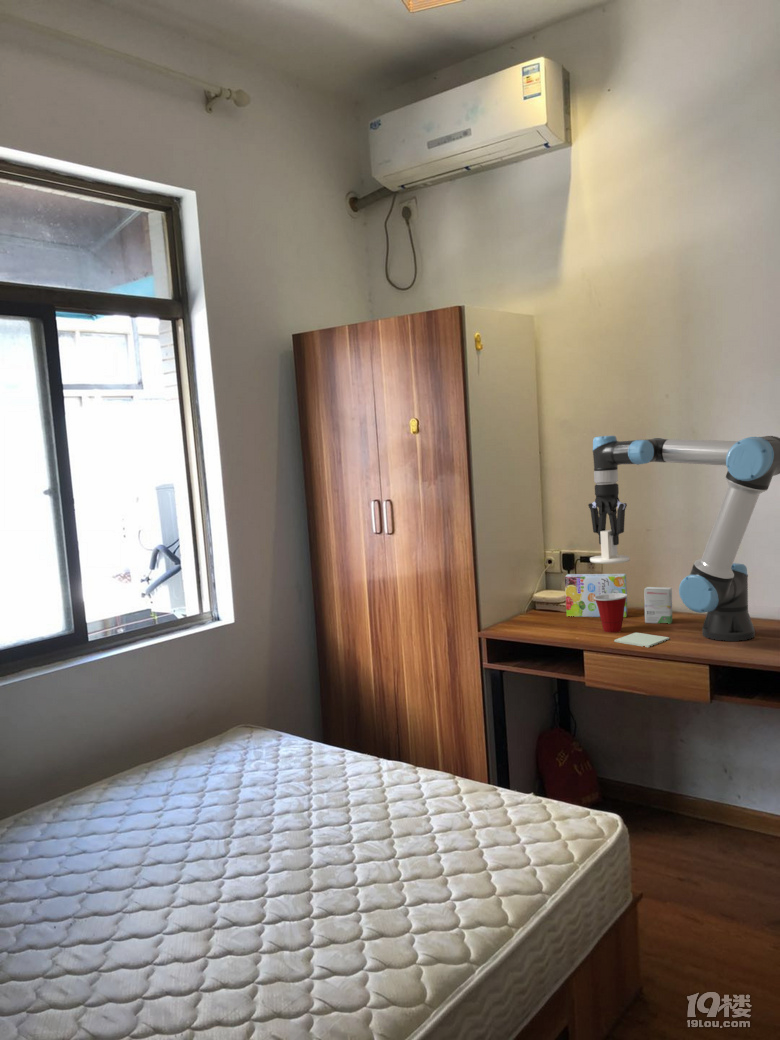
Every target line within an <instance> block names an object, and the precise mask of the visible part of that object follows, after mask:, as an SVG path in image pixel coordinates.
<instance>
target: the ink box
mask: <svg viewBox="0 0 780 1040" xmlns="http://www.w3.org/2000/svg"><path fill="white" fill-rule="evenodd" d="M643 590H644V591H643V593H644V596H643V597H644V622H645V624H660V623H668V624H669V625H670V624H672V623H673V588H672V587H662V586H661V587H659V586H657V587H656V586H646V587H645V588H644V589H643ZM668 624H667V625H668Z"/></svg>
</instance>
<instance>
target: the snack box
mask: <svg viewBox="0 0 780 1040" xmlns="http://www.w3.org/2000/svg"><path fill="white" fill-rule="evenodd" d="M564 590H565V593H564V594H565V610H566V611H565V612H566V615H565V616H566V617H568V616H570V617H571V616H572V617H573V616H574V617H573V618H575V617H576V618H577V617H578V618H583V617H585V618H600V614H599V609H598V606H597V603H596V601H595V599H594V597H595V596H598V595H602V594H611V593H624V594H627V595H628V591H627V573H593V574H592V573H568V574H566V575H565V576H564ZM628 614H629V613H628V596H627V597H626V601H625V607H624V616H623V618H627V617H628ZM572 617H571V618H572Z"/></svg>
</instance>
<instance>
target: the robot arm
mask: <svg viewBox="0 0 780 1040" xmlns="http://www.w3.org/2000/svg"><path fill="white" fill-rule="evenodd" d="M592 455H593V456H592V457H593V478H594V479H593V481H594V482H593V483H594V484H595V485H594V495H595V499H594V501H593V502H592V503H591V502H590V503H588V504H587V505H588V508H589V511H590V516H591V524H592V531H593V532H592V533H594V534H597V535H598V544H599V545H601V535H600V531H604V530H607V529H606V528H607V515H608V519H609V524H610V525H609V526H610V530H611V531H612V534H611V536H610V550H611V555H612V556H613V555H617V554H618V545H619V544H620V538H619V536H620V534H623V533H624V532H625V521H626V520H625V519H626V518H625V514H626V509H627V503H626V502H621V501H620V498H619V489H620V488H619V484H618V483H617V482H619V473H618V472H619V471H618V467H619V465H637V466H638V465H639V466H640V465H644V464H649V463H670V464H671V463H673V464H688V465H689V464H690V465H691V464H693V465H709V466H725V467H727V472H726V474H725V477H724V478H725V480H726V481H727V483H728V486H727V489H726V491H725V494H724V497H723V499H722V502H721V504H720V506H719V510H718V513H717V516H716V518H715V521H714V523H713V526H712V529H711V531H710V535H709V537H708V540H707V542H706V545H705V548H704V551H703V554H702V556H701V558H699V559H696V560H695V561H694V563H693V565H692V568H691V570H690V573H689V575H687V576H685V577H684V578H683V579H682V580H681V581H680V584H679V586H678V587H679V588H678V592H679V597H680V599H681V601H682V603H683V604H684V606H685V607H687V609H688V610H690V611H692V612H695V613H700V614H704V613H706V616H705V617H704V618H705V619H704V622H703V625H702V629H701V632H702V636H703V637H704V638H707V639H709V638H710V639H709V640H714V639H715V641H721V640H723V641H722V642H724V640H725V642H740V641H739V640H742V641H748V640H747V639H749V640H752V639H754V638H755V637H754V636H756V633H755V632H756V631H755V627H754V624H753V621H752V619H751V616H750V613H749V600H748V599H749V591H748V590H749V589H748V587H749V586H748V585H749V584H748V580H749V579H748V577H749V574H748V567H747V566H746V565H745V564H744V563H737V562H735V558H736V557H737V554H738V551H739V549H740V546H741V543H742V542H743V538H744V536H745V532H746V531H747V528H748V525H749V522H750V520H751V518H752V515H753V513H754V509H755V507H756V505H757V501H758V500H759V496H760V494H762V493H764V492H766V491H768V489H769V487H770V485H771V482H772V478H773V477H774V476H778V475H780V437H778V436H774V435H766V436H750V437H749V436H748V437H746V438H743V439H741V440H711V439H708V440H707V439H706V440H705V439H679V438H678V439H675V438H670V439H669V438H661V437H654V438H650V439H648V438H647V439H645V438H644V439H633V440H622V441H619V440H617V436H616V435H602V436H601V435H599V436H595V437H593V440H592ZM753 637H754V638H753ZM751 638H752V639H751Z"/></svg>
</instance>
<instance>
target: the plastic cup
mask: <svg viewBox="0 0 780 1040" xmlns="http://www.w3.org/2000/svg"><path fill="white" fill-rule="evenodd" d="M626 597H627V598H628V593H627V594H624V593H611V594H602V595H598V596H595V597H594V599H595V601H596V603H597V606H598V609H599V614H600V617H599V618H600V622H601V625H602V629H603V632H606V633H619V632H622V628H623V622H624V617H623V616H624V607H625V601H626Z"/></svg>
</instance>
